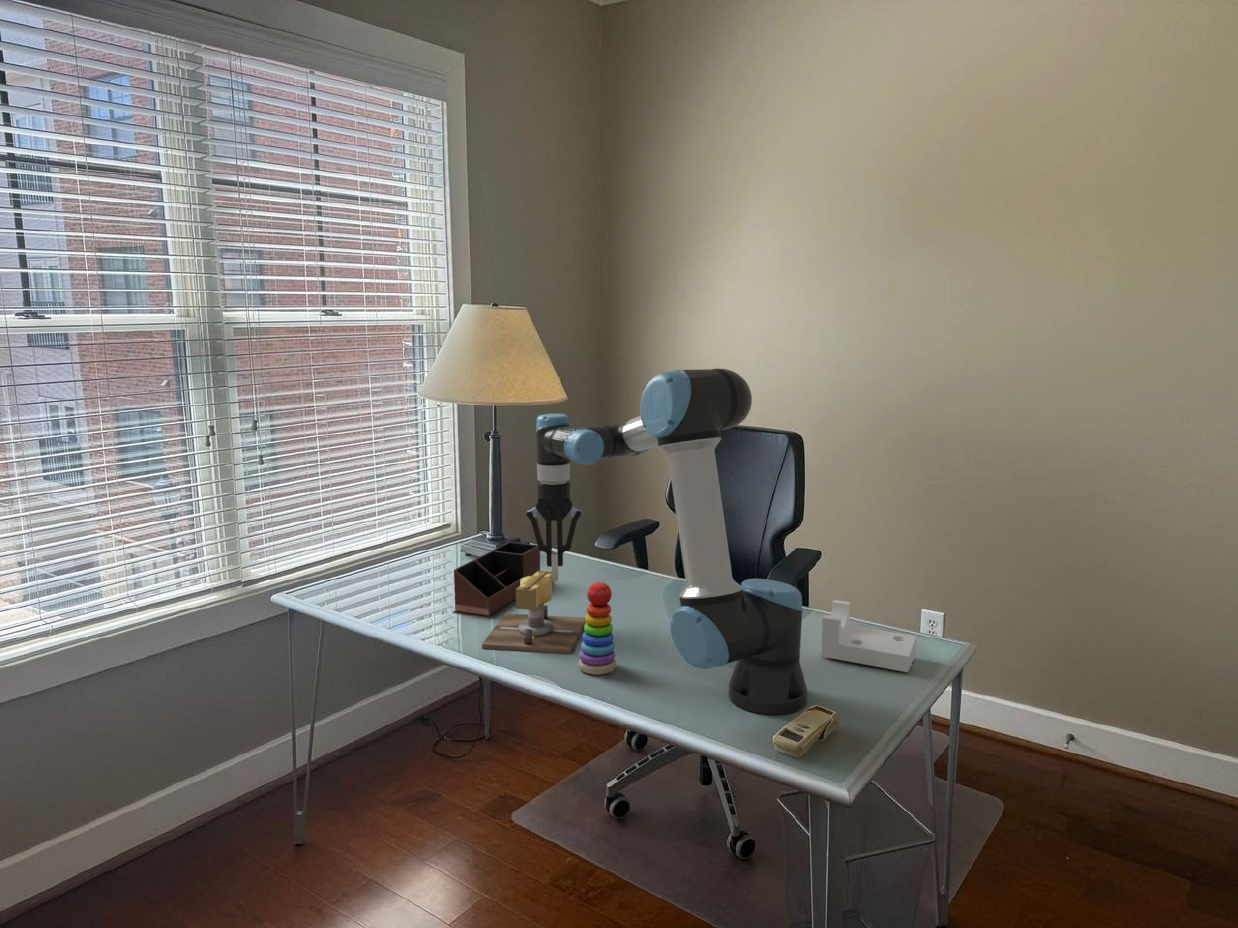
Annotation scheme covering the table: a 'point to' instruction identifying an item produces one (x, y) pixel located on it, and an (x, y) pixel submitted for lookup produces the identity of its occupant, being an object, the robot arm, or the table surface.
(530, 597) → the yellow block with ball
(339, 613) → the table surface
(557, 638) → the base
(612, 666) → the stacking toy
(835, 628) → the white mounting bracket
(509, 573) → the desk organizer
